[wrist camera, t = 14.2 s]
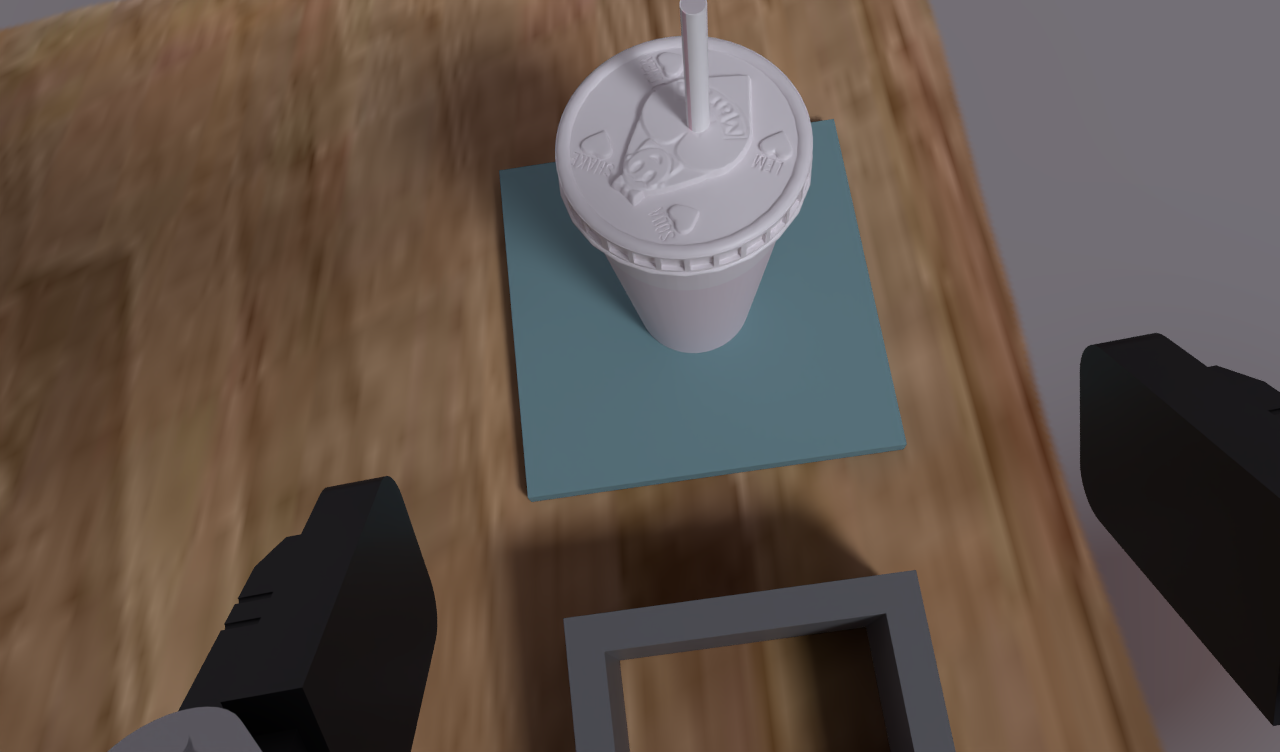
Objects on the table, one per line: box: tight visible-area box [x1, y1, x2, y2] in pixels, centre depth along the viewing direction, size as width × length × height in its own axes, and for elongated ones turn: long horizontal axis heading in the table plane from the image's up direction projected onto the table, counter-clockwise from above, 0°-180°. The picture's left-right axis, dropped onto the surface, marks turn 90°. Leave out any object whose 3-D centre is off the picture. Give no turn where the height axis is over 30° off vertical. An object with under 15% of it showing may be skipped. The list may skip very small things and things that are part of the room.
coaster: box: [499, 119, 906, 502], centre depth 33 cm, size 12×12×1 cm
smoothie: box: [555, 0, 813, 353], centre depth 26 cm, size 6×6×14 cm
